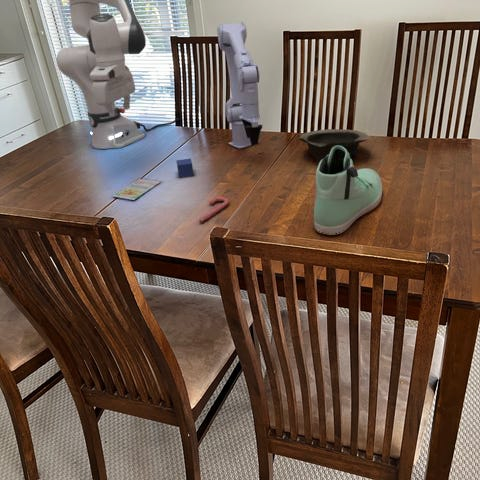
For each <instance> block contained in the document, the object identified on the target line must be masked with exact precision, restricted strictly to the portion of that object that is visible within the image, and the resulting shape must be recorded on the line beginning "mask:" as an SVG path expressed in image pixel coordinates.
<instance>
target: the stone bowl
mask: <svg viewBox="0 0 480 480" xmlns="http://www.w3.org/2000/svg"><path fill="white" fill-rule="evenodd" d="M370 138H371V136H370V135H368V134H367V133H365V132H364V131H363V132H362V131H359V130H355V129H344V128H342V129H339V128H338V129H336V128H328V129H320V130H319V129H318V130H312V131H308V132H304V133H302V134H300V136H299V138H298V140H299V141H301V142H303V143H306V144H307V147H308V151H309V152H310V154H311V155H312V156H313V157H315V158H316V162H317V163H320V161H321V160H322V159H324V158H325V157H326V156H327V155H329V154H330V152H331V149H332V148H333V147H334V146H342V147H344V148H345V149H346V150H347V152H348V153H349V156H350V158H356V157H357V155H358V151H359V144H361V143H364V142H366V141H368V140H370Z"/></svg>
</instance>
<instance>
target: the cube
mask: <svg viewBox="0 0 480 480" xmlns="http://www.w3.org/2000/svg"><path fill="white" fill-rule="evenodd" d="M175 162H176V167H177V173H178V178H180V179H181V178H188V177H189V178H190V177H194V175H195V174H194V167H193V161H192V158H183V159H177V160H176V161H175Z"/></svg>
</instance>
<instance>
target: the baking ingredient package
mask: <svg viewBox="0 0 480 480" xmlns="http://www.w3.org/2000/svg"><path fill="white" fill-rule="evenodd" d="M160 183H161V181H156V180H152V179H151V180H149V179H143V178H138V179H137V180H135V181H133V182H132V183H130V184H128V185H127V186H125V187H124V188H122V189H121V190H119V191H117V192H116V193H115V194H113V195H112V197H115V198H120V199H125V200H131V201H134V200H136V199H138V198H139V197H141V196H142V195H144V194H145V193H147V192H148V191H149V190H151V189H152V188H154V187H156V186H157V185H158V184H160Z"/></svg>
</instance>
